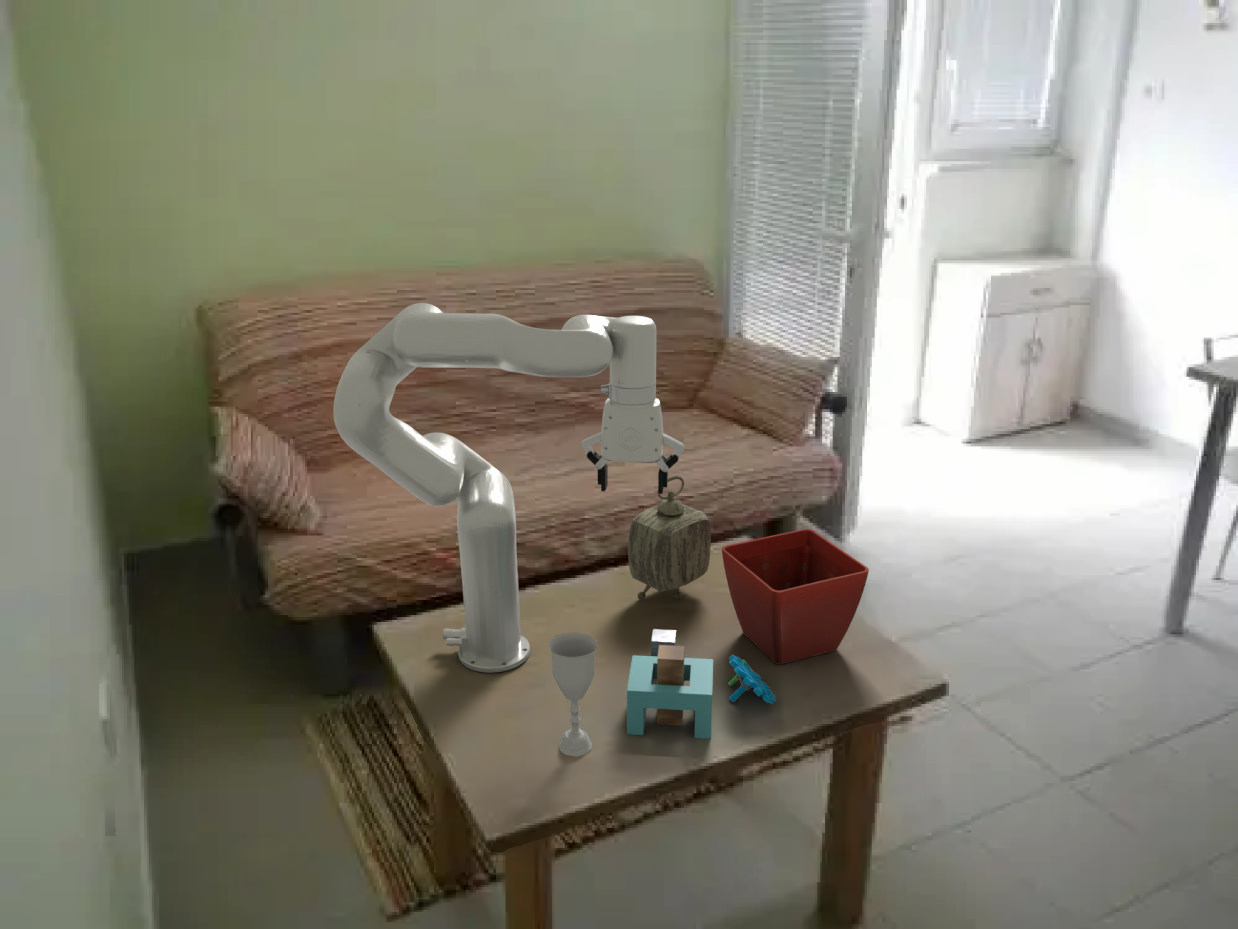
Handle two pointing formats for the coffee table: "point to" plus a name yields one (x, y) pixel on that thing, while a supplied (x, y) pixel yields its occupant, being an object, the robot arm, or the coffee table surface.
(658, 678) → the walnut pin
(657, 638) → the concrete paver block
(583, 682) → the chalice
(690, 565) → the tabletop clock
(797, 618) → the plant pot
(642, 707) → the bridge block
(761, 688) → the gear
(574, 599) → the coffee table surface
